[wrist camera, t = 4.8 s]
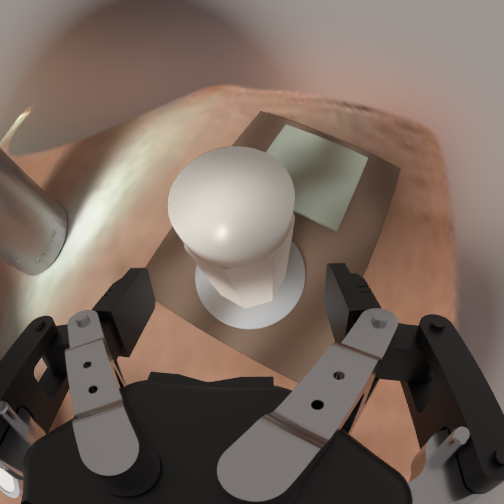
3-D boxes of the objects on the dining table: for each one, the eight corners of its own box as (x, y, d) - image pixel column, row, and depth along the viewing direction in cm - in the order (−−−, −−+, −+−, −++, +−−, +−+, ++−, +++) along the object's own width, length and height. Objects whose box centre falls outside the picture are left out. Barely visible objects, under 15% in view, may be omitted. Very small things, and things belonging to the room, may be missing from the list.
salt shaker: (202, 286, 21) (144, 220, 11) (237, 230, 23) (212, 133, 13) (263, 319, 20) (254, 280, 10) (295, 259, 22) (315, 172, 11)
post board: (141, 289, 24) (84, 254, 15) (261, 120, 30) (257, 55, 21) (306, 385, 20) (329, 404, 12) (395, 176, 26) (428, 117, 18)
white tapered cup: (63, 454, 18) (18, 467, 11) (58, 495, 16) (20, 511, 9) (22, 419, 19) (-22, 421, 12) (19, 460, 17) (-20, 467, 10)
